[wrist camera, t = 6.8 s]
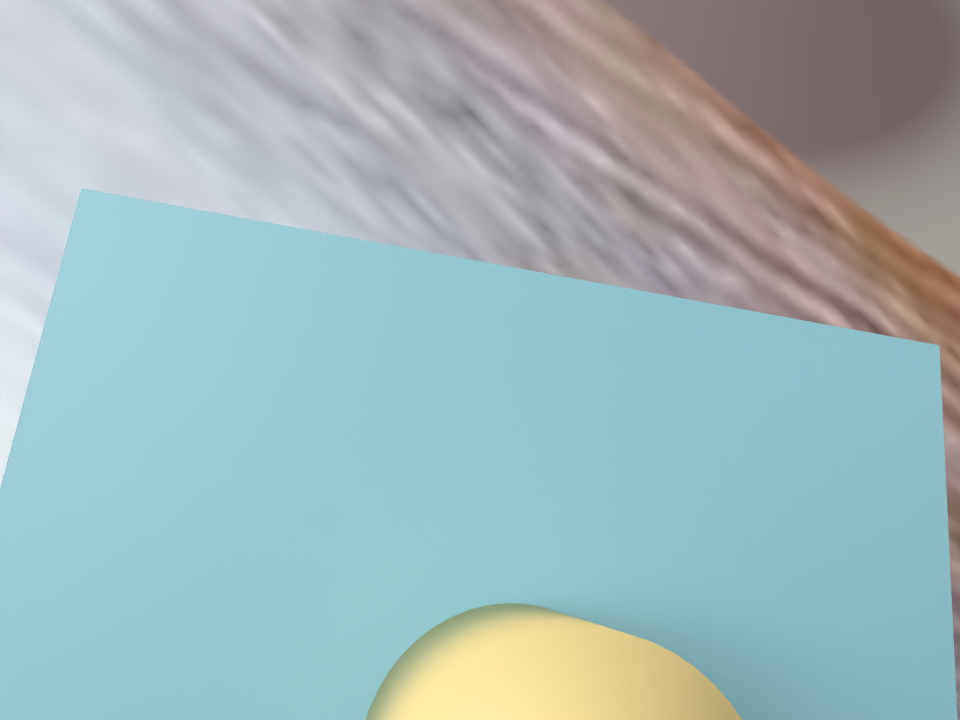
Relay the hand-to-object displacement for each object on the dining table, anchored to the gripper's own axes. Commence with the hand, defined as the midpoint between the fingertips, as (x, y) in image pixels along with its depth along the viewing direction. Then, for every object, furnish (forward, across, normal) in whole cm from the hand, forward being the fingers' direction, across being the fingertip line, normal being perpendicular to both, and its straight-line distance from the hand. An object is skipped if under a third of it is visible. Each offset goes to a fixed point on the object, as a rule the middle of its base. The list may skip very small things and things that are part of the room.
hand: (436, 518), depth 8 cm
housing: (+4, 0, +6) cm, 7 cm away
